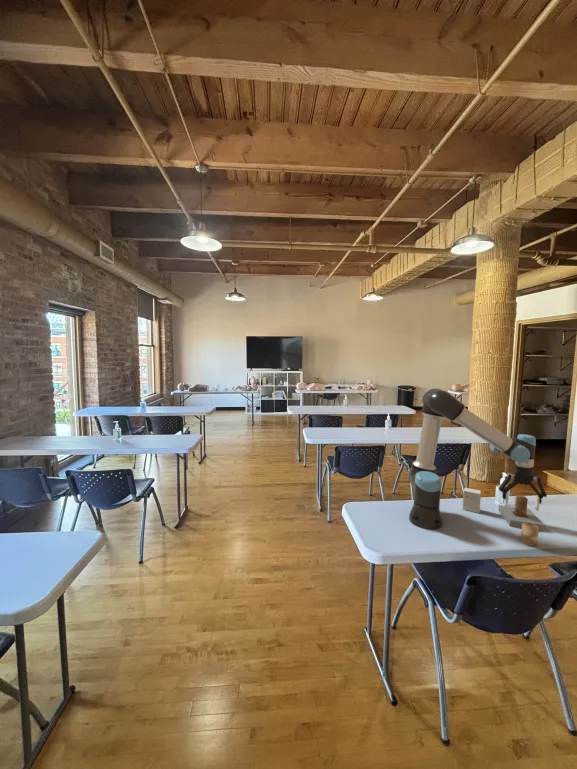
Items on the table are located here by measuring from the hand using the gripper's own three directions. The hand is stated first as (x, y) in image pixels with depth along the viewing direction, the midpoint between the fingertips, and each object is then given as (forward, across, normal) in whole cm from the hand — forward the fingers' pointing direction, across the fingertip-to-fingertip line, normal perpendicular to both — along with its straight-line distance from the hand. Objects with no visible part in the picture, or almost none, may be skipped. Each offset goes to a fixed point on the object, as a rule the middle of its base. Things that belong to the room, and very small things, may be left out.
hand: (520, 507), depth 169 cm
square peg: (+7, 0, 0) cm, 7 cm away
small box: (+7, -21, +5) cm, 23 cm away
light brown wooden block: (+7, -4, -24) cm, 25 cm away
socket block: (+7, 0, 0) cm, 7 cm away
